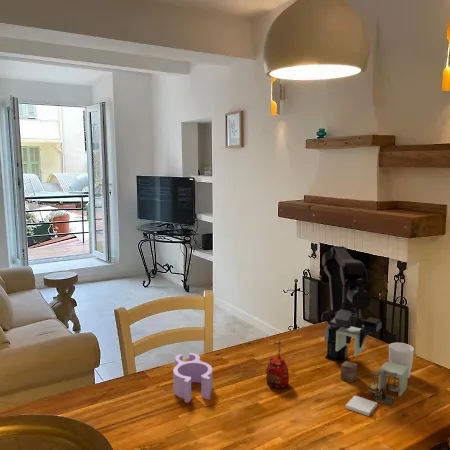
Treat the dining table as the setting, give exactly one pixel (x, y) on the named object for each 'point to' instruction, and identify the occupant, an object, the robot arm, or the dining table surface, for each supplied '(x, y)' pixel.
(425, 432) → the dining table surface
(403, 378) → the green cover right
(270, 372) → the red clay folk toy
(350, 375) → the walnut block
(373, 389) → the bronze balance
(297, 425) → the dining table surface
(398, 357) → the white cup
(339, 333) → the green cover left
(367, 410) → the grey ceramic tile
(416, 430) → the dining table surface
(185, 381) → the clip
